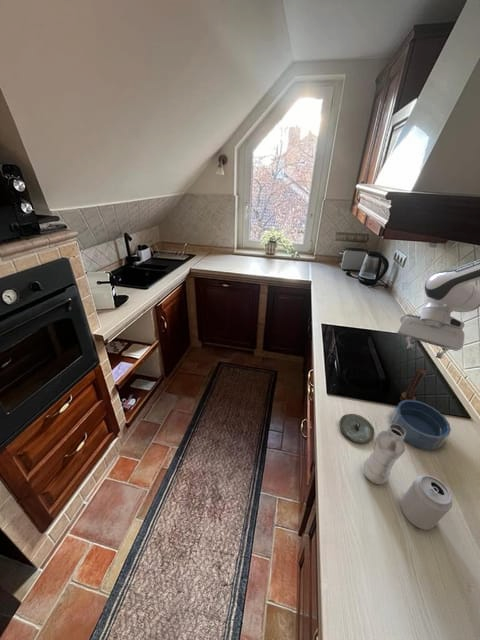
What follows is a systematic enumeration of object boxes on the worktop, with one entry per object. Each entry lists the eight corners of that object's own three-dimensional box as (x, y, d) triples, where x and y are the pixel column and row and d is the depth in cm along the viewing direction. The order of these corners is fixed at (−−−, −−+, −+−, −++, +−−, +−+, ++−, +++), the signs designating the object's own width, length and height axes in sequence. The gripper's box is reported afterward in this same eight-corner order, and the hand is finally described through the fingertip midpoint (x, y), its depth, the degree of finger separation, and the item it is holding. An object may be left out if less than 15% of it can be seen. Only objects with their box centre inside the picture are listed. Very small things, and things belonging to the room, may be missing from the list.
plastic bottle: (357, 475, 72) (378, 430, 61) (367, 458, 76) (388, 414, 66) (380, 493, 68) (407, 448, 58) (389, 475, 72) (416, 430, 62)
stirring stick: (410, 397, 97) (426, 367, 89) (415, 407, 93) (432, 376, 86) (397, 395, 98) (412, 366, 90) (402, 405, 94) (417, 374, 86)
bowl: (428, 415, 90) (436, 403, 87) (450, 454, 78) (460, 441, 74) (385, 409, 92) (390, 396, 89) (399, 446, 79) (407, 433, 76)
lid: (372, 430, 86) (376, 417, 85) (373, 449, 77) (377, 436, 76) (339, 419, 90) (342, 406, 89) (336, 436, 81) (340, 422, 80)
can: (440, 523, 62) (463, 499, 56) (419, 537, 60) (441, 513, 54) (412, 492, 68) (431, 467, 62) (392, 503, 66) (409, 478, 60)
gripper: (404, 309, 98) (393, 342, 96) (470, 325, 89) (460, 361, 87) (401, 314, 104) (391, 345, 102) (462, 330, 95) (453, 364, 93)
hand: (423, 353), depth 94 cm, fingers open, 8 cm apart
